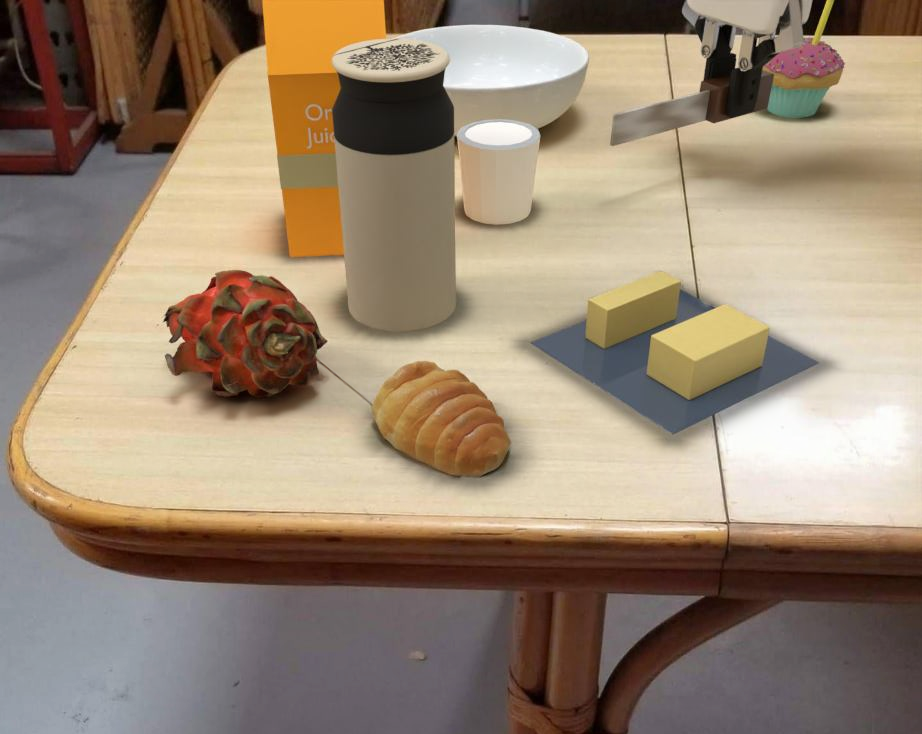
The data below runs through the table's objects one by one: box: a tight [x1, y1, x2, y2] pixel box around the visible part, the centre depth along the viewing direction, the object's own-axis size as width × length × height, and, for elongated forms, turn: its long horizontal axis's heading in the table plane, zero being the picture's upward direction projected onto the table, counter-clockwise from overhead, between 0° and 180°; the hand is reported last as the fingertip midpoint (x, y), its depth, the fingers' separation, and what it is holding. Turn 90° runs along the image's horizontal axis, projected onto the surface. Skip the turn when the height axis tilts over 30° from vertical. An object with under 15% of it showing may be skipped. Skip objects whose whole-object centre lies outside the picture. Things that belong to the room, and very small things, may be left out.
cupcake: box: [762, 0, 846, 119], centre depth 106 cm, size 9×8×12 cm
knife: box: [609, 70, 774, 147], centre depth 91 cm, size 18×2×3 cm, turn 127°
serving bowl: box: [393, 24, 590, 137], centre depth 106 cm, size 21×21×7 cm
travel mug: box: [332, 38, 457, 332], centre depth 74 cm, size 8×8×18 cm
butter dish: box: [529, 288, 820, 436], centre depth 74 cm, size 14×14×1 cm
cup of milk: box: [456, 119, 541, 226], centre depth 90 cm, size 7×7×7 cm
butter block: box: [647, 303, 771, 400], centre depth 71 cm, size 7×4×3 cm, turn 127°
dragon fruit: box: [156, 269, 328, 398], centre depth 70 cm, size 8×8×12 cm
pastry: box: [371, 360, 512, 478], centre depth 66 cm, size 9×7×4 cm
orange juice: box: [261, 0, 387, 258], centre depth 82 cm, size 8×9×20 cm
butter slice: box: [585, 270, 682, 349], centre depth 75 cm, size 7×2×3 cm, turn 127°
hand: (727, 107), depth 94 cm, fingers closed on knife, 2 cm apart
